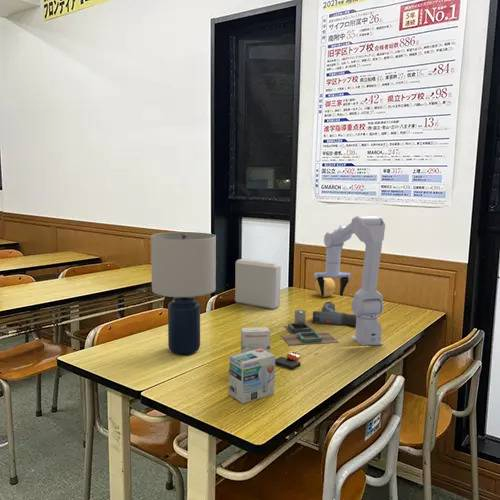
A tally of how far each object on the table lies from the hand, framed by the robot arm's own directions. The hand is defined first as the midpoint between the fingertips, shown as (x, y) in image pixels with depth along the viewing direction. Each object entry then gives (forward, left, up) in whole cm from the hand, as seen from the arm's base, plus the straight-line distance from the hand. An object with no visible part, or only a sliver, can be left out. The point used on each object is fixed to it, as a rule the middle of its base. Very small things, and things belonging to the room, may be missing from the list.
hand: (331, 295), depth 190 cm
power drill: (0, -3, -11) cm, 11 cm away
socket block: (-12, +17, -10) cm, 23 cm away
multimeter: (-37, +27, -11) cm, 47 cm away
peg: (-12, +17, -10) cm, 23 cm away
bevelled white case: (+27, +24, -10) cm, 38 cm away
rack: (-23, +17, -10) cm, 31 cm away
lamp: (-25, +61, -10) cm, 67 cm away
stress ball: (+37, -12, -10) cm, 40 cm away
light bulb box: (-60, +46, -10) cm, 76 cm away
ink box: (-42, +41, -10) cm, 60 cm away
